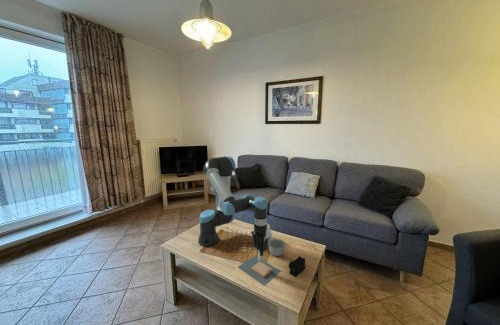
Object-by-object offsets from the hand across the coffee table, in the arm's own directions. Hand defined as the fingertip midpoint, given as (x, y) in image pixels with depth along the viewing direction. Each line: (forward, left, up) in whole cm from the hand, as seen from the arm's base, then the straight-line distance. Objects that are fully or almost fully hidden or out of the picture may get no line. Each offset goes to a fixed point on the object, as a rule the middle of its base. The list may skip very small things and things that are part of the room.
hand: (260, 259), depth 126 cm
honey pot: (-20, +27, -8) cm, 34 cm away
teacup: (-4, +22, -8) cm, 24 cm away
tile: (-4, 0, -6) cm, 7 cm away
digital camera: (+16, +15, -8) cm, 24 cm away
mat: (-1, 0, -8) cm, 8 cm away
